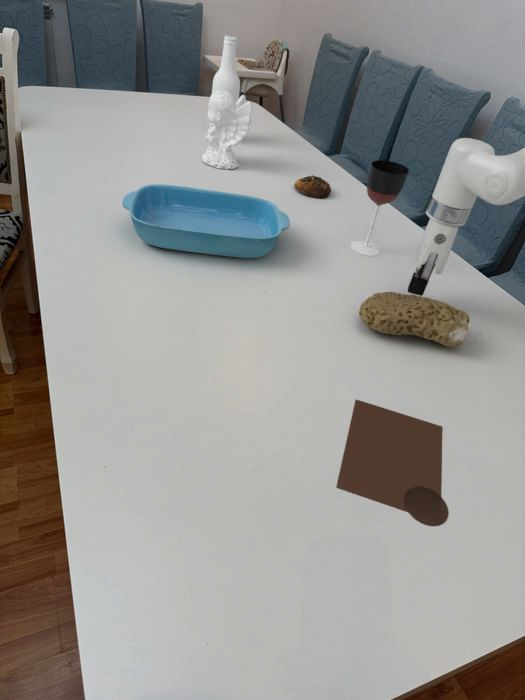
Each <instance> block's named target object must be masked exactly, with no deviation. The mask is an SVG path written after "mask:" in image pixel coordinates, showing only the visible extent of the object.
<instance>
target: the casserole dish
mask: <svg viewBox="0 0 525 700" xmlns="http://www.w3.org/2000/svg"><path fill="white" fill-rule="evenodd" d="M122 207H123V208H125V209H126V210H127V211H129V215H130V218H131V221H132V224H133V227H134V230H135V232H136V234H137V236H138V237H139V238H140V239H141V240H142V241H143V242H144V243H146V244H147V245H149V246H151V247H156V248H161V249H166V250H174V251H181V252H187V253H188V252H189V253H198V254H206V255H212V256H218V257H219V256H220V257H221V256H222V257H227V258H228V257H229V258H238V259H259V258H262V257H265V256H266V255H268V254H269V253H270V252H271V251H272V250H273V249H274V247H275V245H276V244H277V241H278V239H279V238H280V235H281V233H282V231H285V230H287V229H289V227H290V226H291V221H290V218H289V216H288V215H287V214H286V213H285V212H284V211H282V210H280V209H279V207H278V206H277V205H276V204H275V203H273V202H272V201H269V200H267V199H264V198H261V197H257V196H256V197H255V196H251V195H246V194H245V195H244V194H240V193H239V194H238V193H231V192H224V191H217V190H211V189H210V190H209V189H204V188H203V189H202V188H195V187H190V186H189V187H188V186H181V185H172V184H163V183H161V184H157V183H156V184H147V185H143V186H141V187H140V188H138V189H137V190H135V191H131V192H128V193H127V194H126V195H125V196H123V199H122Z"/></svg>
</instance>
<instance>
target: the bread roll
mask: <svg viewBox="0 0 525 700" xmlns="http://www.w3.org/2000/svg"><path fill="white" fill-rule="evenodd" d="M293 186H294V187H295V190H297V192H299V193H300V194H303V195H305V196H308V197H313V198H317V199H326V198H327V197H329V196H330V194H331V193H332V187H331V184H330V183H329V182H328V181H327V180H326V179H323V178H322V176H317V175H313V174H312V175H307V176H304V177H303V176H302V177H300V178H299V179H297V180H296V181H295V182H294V184H293Z"/></svg>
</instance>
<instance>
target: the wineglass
mask: <svg viewBox="0 0 525 700" xmlns="http://www.w3.org/2000/svg"><path fill="white" fill-rule="evenodd" d="M409 172H410V169H409V168H408V167H406V166H405V165H403V164H401V163H398V162H395V161H391V160H384V159H383V160H374V161H372V162H371V164H370V167H369V172H368V176H367V185H366V193H367V196H368V197H369V199H370V200H371V201H372V202H373V203H374V204H376V205H375V210H374V213H373V216H372V219H371V222H370V227H369V229H368V232H367V235H366V238H365V240H353V241H352V242H350V244H349V246H350V248H351V250H353V251H354V252H356V253H358V254H360V255H364V256H367V257H374V256H375V257H376V256H378V255H380V253H381V249H380V248H379V247H378V246H377V245H375V244H374V243H372V242H370V240H371V237H372V236H371V235H372V232H373V230H374V227H375V223H376V220H377V216H378V214H379V210H380V208H381V206H383V205H386V204H390V203H392V202H394V201H395V200H396V199H397V198H398V196H399V195H400V193H401V191H402V189H403V187H404V185H405V182H406V180H407V178H408V176H409Z"/></svg>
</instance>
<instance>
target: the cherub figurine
mask: <svg viewBox="0 0 525 700" xmlns="http://www.w3.org/2000/svg"><path fill="white" fill-rule="evenodd" d="M246 98H247V97H246V95H244V94H242V95H240V96H239V99H238V101H237V102H236V103H235V99H234V97H233V96H232V95H231V94H230V93H229V92H226V91H217V92H216V93H213V94H212V93H211V95H210V97H209V99H208V106H207V107H208V108H207V115H206V117H207V120H208V122H209V123H210V122H212V123H213V124H214V126H212V125H210V124H209V125H210V128H208V130H207V134H206V136H205V141H206V142H208V144H209V146H207V148H206V150H205V152H204V153H203V154H202V155H201V160H202V162H203V163H204V164H206V165H209V166H211V167H212V168H215V169H220V170H223V169H224V170H235V169H236V168H238V167H239V164H238V161H237V159H236V158H235V157H236V155H235V152H233V150H232V148H231V147H236V146H237V145H238V144H239V143H241V142H242V141H244V138H245V137H246V136H247V134H248V132H249V131H250V125H251V123H252V117H251V115H252V113H253V104H252V102H251V101H248V102H246V100H247V99H246Z"/></svg>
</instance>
